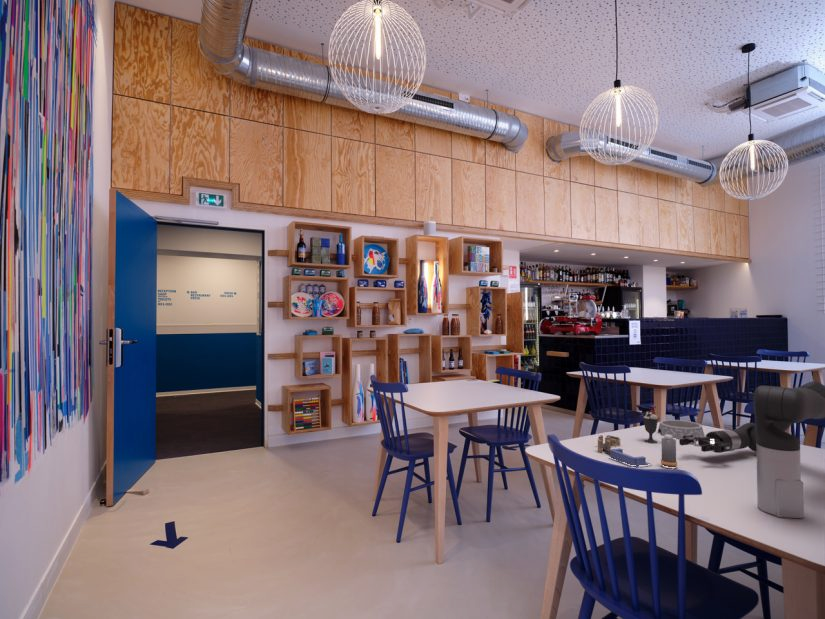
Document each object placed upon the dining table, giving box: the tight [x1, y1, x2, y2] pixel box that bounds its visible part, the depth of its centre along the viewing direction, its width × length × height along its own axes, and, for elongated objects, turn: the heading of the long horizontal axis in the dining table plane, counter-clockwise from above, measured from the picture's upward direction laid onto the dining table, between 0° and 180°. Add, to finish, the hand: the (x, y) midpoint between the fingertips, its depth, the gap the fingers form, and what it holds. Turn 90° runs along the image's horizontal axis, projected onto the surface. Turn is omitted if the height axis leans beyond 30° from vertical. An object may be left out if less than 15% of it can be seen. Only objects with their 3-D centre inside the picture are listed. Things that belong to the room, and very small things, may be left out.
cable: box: [602, 442, 612, 455], centre depth 178 cm, size 16×4×1 cm, turn 155°
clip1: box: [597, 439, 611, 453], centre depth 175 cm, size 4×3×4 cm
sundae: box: [641, 406, 660, 444], centre depth 190 cm, size 7×7×15 cm
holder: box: [609, 447, 651, 468], centre depth 163 cm, size 8×12×3 cm, turn 20°
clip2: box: [597, 434, 612, 449], centre depth 181 cm, size 4×3×4 cm
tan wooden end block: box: [604, 434, 621, 448], centre depth 185 cm, size 4×4×3 cm
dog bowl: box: [657, 419, 705, 440], centre depth 201 cm, size 17×18×5 cm
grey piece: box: [660, 434, 678, 468], centre depth 158 cm, size 5×5×11 cm
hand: (690, 445), depth 161 cm, fingers open, 8 cm apart
